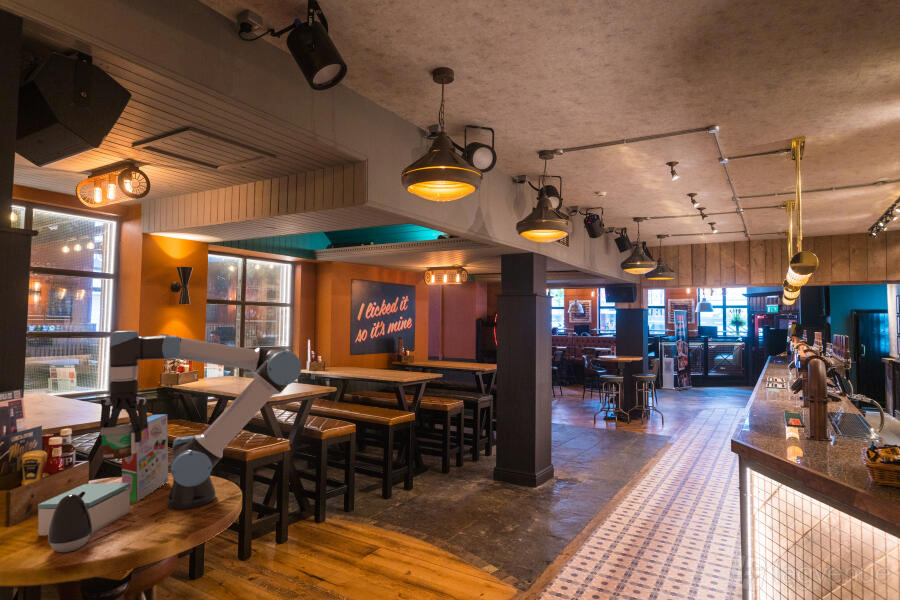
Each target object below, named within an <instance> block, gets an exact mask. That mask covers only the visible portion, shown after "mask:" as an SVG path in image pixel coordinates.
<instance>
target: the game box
mask: <svg viewBox="0 0 900 600" xmlns="http://www.w3.org/2000/svg"><path fill="white" fill-rule="evenodd" d="M147 422H148V428H147V429H144V430H142V432H141V441H140V442H139V452H137V453H134V454H133V455H131V456H129V457H125V458H121V483H131V486H130V487H128V488H129V496H130V503H137V501H138V502H139V501H141V500H143V499H144V498H146V497H147V496H149V495H151V494H152V493H154V492H155V491H154V490H156V489H157V488H159V487H160V486H162V485H163V484H165V483H166V482H168V481H169V452H168V451H169V450H168V449H169V448H168V447H169V446H168V445H169V444H168V443H169V442H168V441H169V439H168V436H169V434H168V428H169V427H168V426H169V425H168V414H166V413H165V414H164V413H163V414H153V415H150V416H147ZM168 483H169V482H168ZM165 485H166V484H165ZM163 486H164V485H163ZM163 486H162V487H163ZM160 488H161V487H160ZM160 488H159V489H160ZM157 490H158V489H157ZM157 490H156V491H157ZM153 491H154V492H153ZM151 492H152V493H151ZM150 493H151V494H150ZM148 494H149V495H148ZM146 495H147V496H146ZM145 496H146V497H145ZM140 499H141V500H140Z"/></svg>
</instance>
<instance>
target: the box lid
mask: <svg viewBox="0 0 900 600" xmlns="http://www.w3.org/2000/svg"><path fill="white" fill-rule="evenodd" d="M130 486H131V483H122V482H109V483H108V482H107V483H106V482H105V483H104V482H103V483H83V484H82V485H80V486H77V487H75V488H72V489H70V490H68V491H65V492H63V493H61V494H59V495H56V496H54V497H51V498H50V499H47V500H44V501H42V502H41V503H38V504H37V509H39V508H56V506H57V505H58V503H59V502H60V500H61V499H62V498H63V497H65V496H67V495H70V494H75V495H79V494H80V493H81V492H85V495H84V496H83V497H82V499H83V501H84V502H85V504H86V506H87V507H90V506H92V505H94V504H96V503H98V502H100V501H102V500H104V499H106V498H108V497H110V496H112V495H114V494H116V493H118V492H120V491H122V490H124V489H126V488H128V487H130Z"/></svg>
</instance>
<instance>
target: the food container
mask: <svg viewBox="0 0 900 600" xmlns="http://www.w3.org/2000/svg"><path fill="white" fill-rule="evenodd" d="M133 431H134V430H133V427H132V424H131V421H130V419H129V420H128V423H125V424H116V426H114V427H112V428H101V430H100V429H99V436H101V444H102V445H101V446H102V458H103V461H105V460H106V461H109V460H110V461H111V460H112V461H113V460H120V459H122V458H125V457H129V456H131V455H133V454H131V433H133Z"/></svg>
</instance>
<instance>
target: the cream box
mask: <svg viewBox="0 0 900 600" xmlns="http://www.w3.org/2000/svg"><path fill="white" fill-rule="evenodd" d="M130 503H131V502H130V496H129V488H126V489H124V490H122V491H120V492H118V493H116V494H114V495H112V496H110V497H108V498H106V499H104V500H102V501H100V502H98V503H96V504H94V505H92V506H90V507H87V509H88V511H89V514H90V518H91V523H92V532H91V534H90V536H91V535H93V534H95V533H96V532H98V531H100V530H101V529H103V528H106V526H108V525H110V524H112V523H114V522H116V521H117V520H119V519H120V518H122V517H124V516H125V515H128V514H129V513H130V512H131V511H130V508H131V506H130ZM37 509H38V518H37V519H38V535H39V534H40V535H39V536H47V535H48V532H49V527H50V523H51V519H52V516H53V513H54V511H55V508H37Z"/></svg>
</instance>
